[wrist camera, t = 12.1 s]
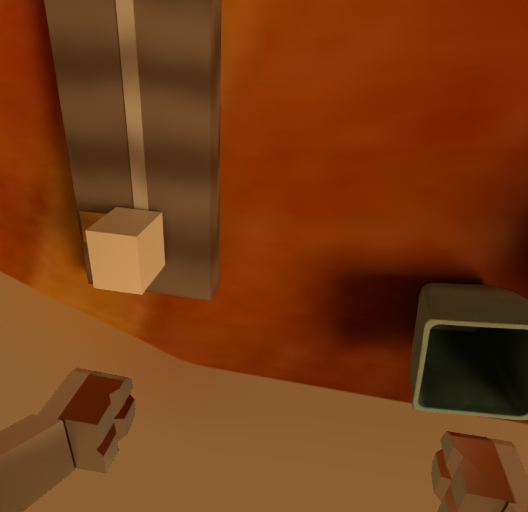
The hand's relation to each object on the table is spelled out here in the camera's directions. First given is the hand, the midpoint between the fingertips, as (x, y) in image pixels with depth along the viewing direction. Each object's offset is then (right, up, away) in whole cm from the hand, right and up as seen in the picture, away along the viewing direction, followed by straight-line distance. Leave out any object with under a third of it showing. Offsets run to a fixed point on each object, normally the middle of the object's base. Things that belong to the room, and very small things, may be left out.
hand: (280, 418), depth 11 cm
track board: (-10, +14, +25) cm, 31 cm away
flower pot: (+17, 0, +28) cm, 33 cm away
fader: (-11, +6, +26) cm, 28 cm away
